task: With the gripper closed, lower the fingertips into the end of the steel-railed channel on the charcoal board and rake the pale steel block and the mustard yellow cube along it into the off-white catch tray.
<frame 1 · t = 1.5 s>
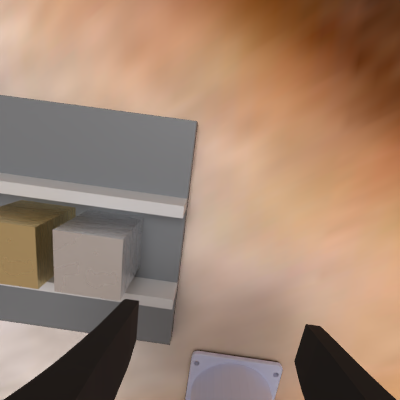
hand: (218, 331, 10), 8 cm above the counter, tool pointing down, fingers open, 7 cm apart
steel chip: (115, 238, 17), point 1 cm above the counter, touching channel board
mustard yellow cube: (49, 229, 17), point 1 cm above the counter, touching channel board
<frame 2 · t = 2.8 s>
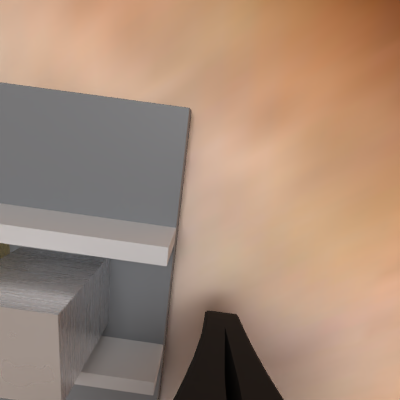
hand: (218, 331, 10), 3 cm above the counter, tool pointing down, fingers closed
steel chip: (70, 283, 12), point 1 cm above the counter, touching channel board
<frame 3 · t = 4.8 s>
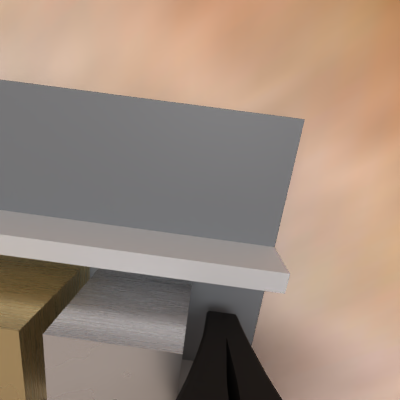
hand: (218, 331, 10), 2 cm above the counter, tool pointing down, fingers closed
steel chip: (145, 304, 11), point 1 cm above the counter, touching channel board, gripper
mustard yellow cube: (48, 290, 11), point 1 cm above the counter, touching channel board
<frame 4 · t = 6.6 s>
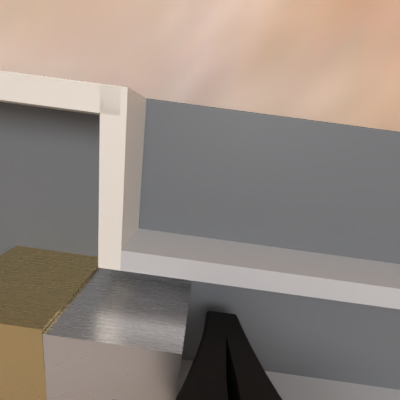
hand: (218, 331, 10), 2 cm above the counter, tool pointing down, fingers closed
steel chip: (145, 304, 11), point 1 cm above the counter, touching gripper
channel board: (134, 288, 12), on the counter
mustard yellow cube: (62, 289, 11), point 1 cm above the counter, touching channel board
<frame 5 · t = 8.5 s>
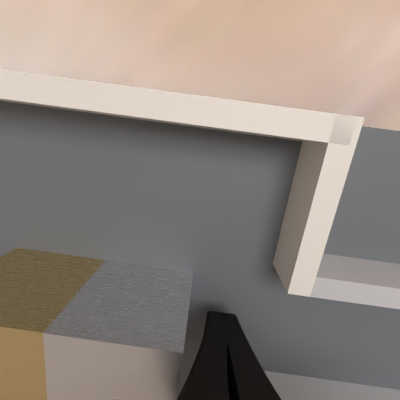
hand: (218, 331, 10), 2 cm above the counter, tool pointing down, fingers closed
steel chip: (146, 303, 11), point 1 cm above the counter, touching mustard yellow cube, channel board, gripper
channel board: (264, 306, 12), on the counter
mustard yellow cube: (62, 291, 11), point 1 cm above the counter, touching channel board, steel chip
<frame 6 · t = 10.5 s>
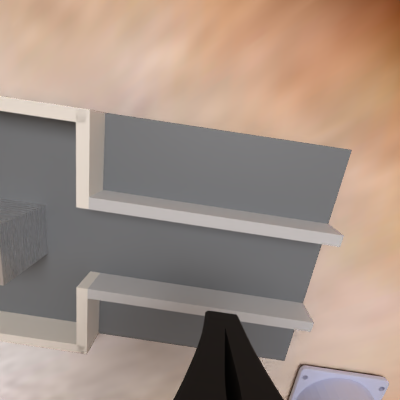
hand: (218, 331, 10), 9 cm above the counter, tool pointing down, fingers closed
steel chip: (20, 225, 17), point 1 cm above the counter, touching mustard yellow cube, channel board
channel board: (103, 232, 18), on the counter
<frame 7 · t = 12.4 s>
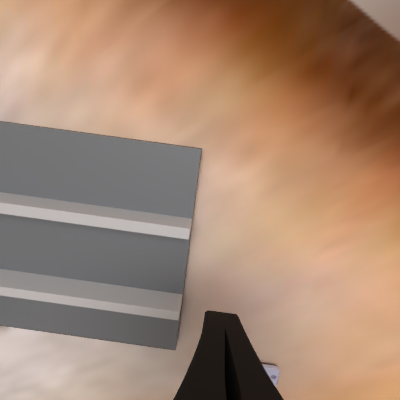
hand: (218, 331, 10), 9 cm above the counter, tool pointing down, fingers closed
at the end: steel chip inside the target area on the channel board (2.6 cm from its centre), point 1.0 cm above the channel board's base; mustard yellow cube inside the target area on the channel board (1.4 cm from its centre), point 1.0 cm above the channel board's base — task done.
